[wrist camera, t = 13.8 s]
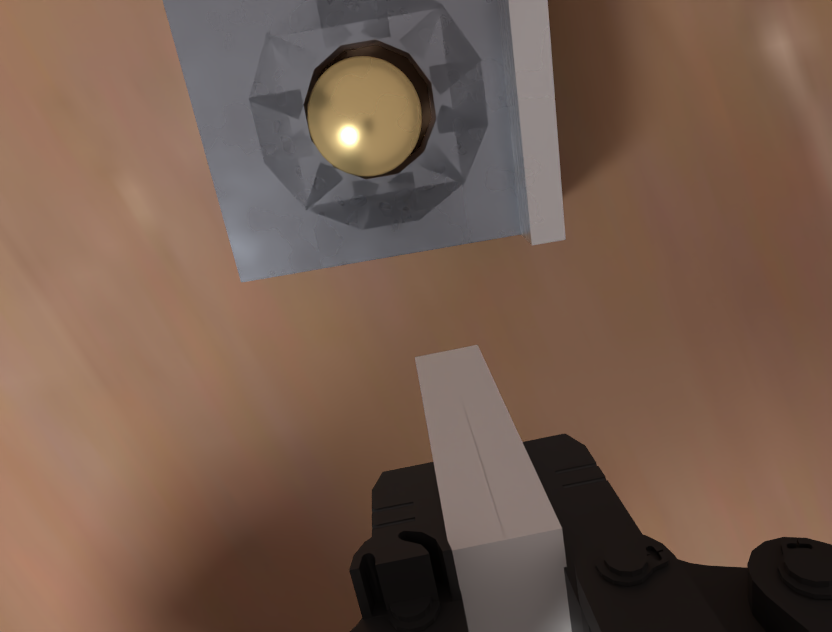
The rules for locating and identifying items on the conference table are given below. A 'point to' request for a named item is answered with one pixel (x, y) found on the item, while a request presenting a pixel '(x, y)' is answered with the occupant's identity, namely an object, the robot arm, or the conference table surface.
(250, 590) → the conference table surface
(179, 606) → the conference table surface
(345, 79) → the cylinder
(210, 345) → the conference table surface
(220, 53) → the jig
